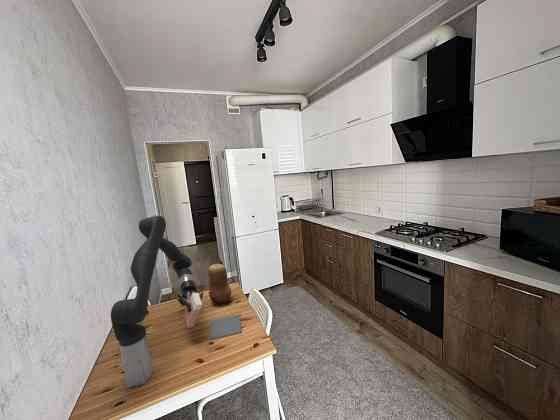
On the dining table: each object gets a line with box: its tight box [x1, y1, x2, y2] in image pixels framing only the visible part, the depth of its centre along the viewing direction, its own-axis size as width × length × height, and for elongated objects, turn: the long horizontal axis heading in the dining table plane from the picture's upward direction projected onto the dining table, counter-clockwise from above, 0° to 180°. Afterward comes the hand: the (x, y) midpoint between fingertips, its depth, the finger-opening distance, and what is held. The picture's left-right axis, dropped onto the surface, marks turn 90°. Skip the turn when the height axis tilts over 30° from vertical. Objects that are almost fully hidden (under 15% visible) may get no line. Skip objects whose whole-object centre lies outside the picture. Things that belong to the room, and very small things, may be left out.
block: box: [183, 292, 203, 329], centre depth 111 cm, size 3×8×14 cm, turn 32°
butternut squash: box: [207, 263, 232, 305], centre depth 144 cm, size 14×13×25 cm
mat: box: [208, 313, 243, 341], centre depth 120 cm, size 16×16×1 cm
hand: (193, 310), depth 110 cm, fingers closed on block, 3 cm apart
